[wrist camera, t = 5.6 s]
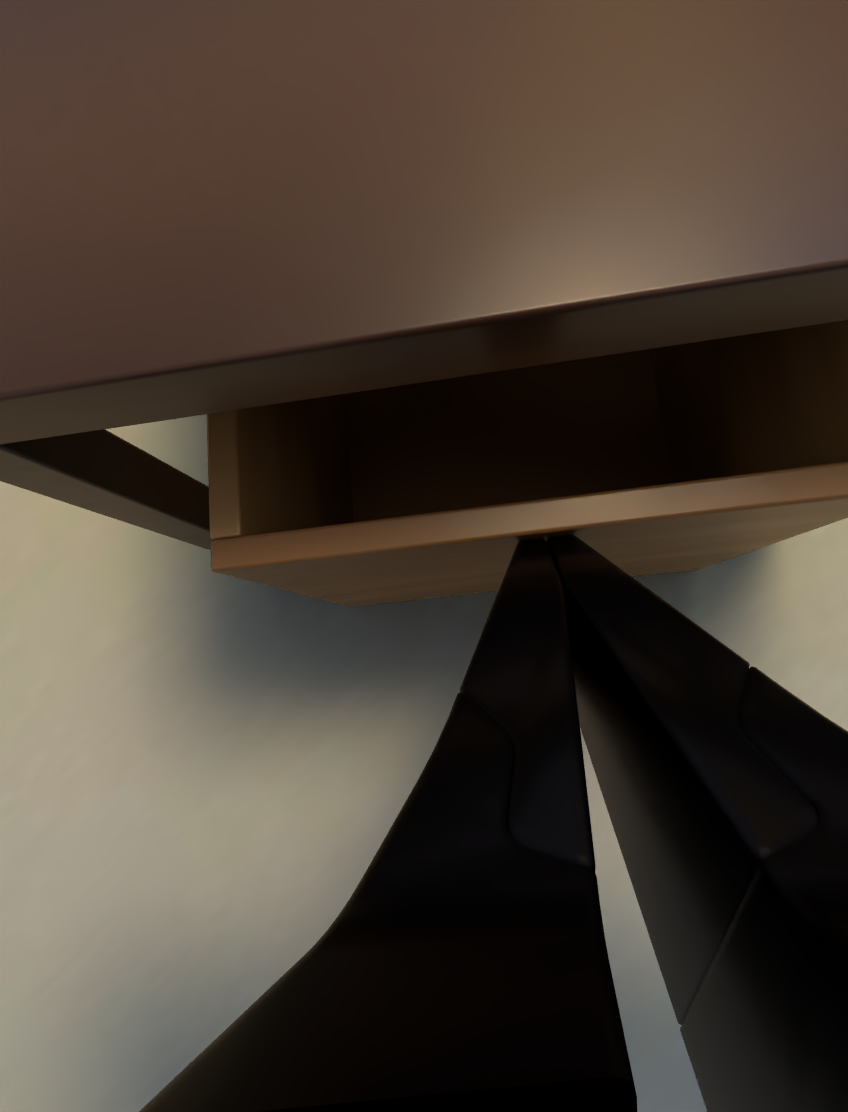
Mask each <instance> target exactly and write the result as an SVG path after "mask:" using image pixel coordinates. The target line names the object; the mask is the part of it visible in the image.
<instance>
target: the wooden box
mask: <svg viewBox="0 0 848 1112" xmlns="http://www.w3.org/2000/svg"><path fill="white" fill-rule="evenodd" d="M207 441H208V477H209V513H210V537H211V539H213V541H211V568H212V571H214V572H217V573H221V574H225V575H229V576H233V577H236V578H240V579H244V580H248V581H252V582H256V583H260V584H264V585H268V586H272V587H276V588H279V589H283V590H287V591H291V592H295V593H299V594H303V595H307V596H311V597H315V598H318V599H322V600H326V601H330V602H334V603H338V604H342V605H346V606H350V607H351V606H360V605H369V604H379V603H388V602H397V601H407V600H416V599H425V598H435V597H444V596H453V595H463V594H472V593H481V592H491V591H499V588H500V586H501V583H502V581H503V578H504V576H505V573H506V571H507V568H508V566H509V563H510V560H511V558H512V555H513V553H514V550H515V548H516V545H517V543H518V542H519V541H521V540H530V539H538V538H543V539H545V540H546V541H547V539H548V538H550V537H556V536H564V535H575V536H577V537H578V538H579V539H581V540H582V541H584V542H585V543H586V544H588V545H589V546H590V547H592V548H593V549H594V550H596V551H597V552H599V553H600V554H601V555H603V556H604V557H605V558H607V559H608V560H609V561H611V562H612V563H613V564H615V565H616V566H618V567H619V568H620V569H622V570H623V571H624V572H626V573H627V574H628V575H630V576H640V575H650V574H659V573H668V572H678V571H687V570H696V569H701V568H704V567H707V566H710V565H712V564H715V563H718V562H721V561H724V560H727V559H730V558H733V557H736V556H738V555H741V554H744V553H747V552H750V551H753V550H756V549H759V548H761V547H764V546H767V545H770V544H773V543H776V542H779V541H782V540H784V539H787V538H790V537H793V536H796V535H799V534H802V533H805V532H808V531H810V530H813V529H816V528H819V527H822V526H825V525H828V524H831V523H833V522H836V521H839V520H842V519H845V518H848V320H844V321H837V322H831V323H824V324H817V325H810V326H803V327H797V328H790V329H783V330H776V331H769V332H763V333H756V334H749V335H742V336H735V337H729V338H722V339H715V340H708V341H701V342H694V343H688V344H681V345H674V346H667V347H660V348H654V349H647V350H640V351H633V352H626V353H620V354H613V355H606V356H599V357H592V358H586V359H579V360H572V361H565V362H558V363H551V364H545V365H538V366H531V367H524V368H517V369H511V370H504V371H497V372H490V373H483V374H477V375H470V376H463V377H456V378H449V379H443V380H436V381H429V382H422V383H415V384H409V385H402V386H395V387H388V388H381V389H374V390H368V391H361V392H354V393H347V394H340V395H334V396H327V397H320V398H313V399H306V400H300V401H293V402H286V403H279V404H272V405H266V406H259V407H252V408H245V409H238V410H232V411H225V412H218V413H211V414H207Z"/></svg>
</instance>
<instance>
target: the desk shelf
mask: <svg viewBox="0 0 848 1112" xmlns="http://www.w3.org/2000/svg"><path fill="white" fill-rule="evenodd" d="M844 320H848V0H0V481H2V482H5V483H8V484H11V485H14V486H17V487H20V488H23V489H27V490H30V491H33V492H36V493H39V494H42V495H45V496H48V497H51V498H54V499H57V500H60V501H63V502H66V503H69V504H72V505H75V506H78V507H81V508H84V509H87V510H90V511H93V512H96V513H99V514H102V515H105V516H108V517H111V518H114V519H118V520H121V521H124V522H127V523H130V524H133V525H136V526H139V527H142V528H145V529H148V530H151V531H154V532H157V533H160V534H163V535H166V536H169V537H172V538H175V539H178V540H181V541H184V542H187V543H190V544H193V545H196V546H199V547H202V548H205V549H209V550H211V541H213V539H211V537H210V513H209V487H208V486H206V485H204V484H203V483H201V482H199V481H197V480H195V479H194V478H192V477H190V476H188V475H186V474H185V473H183V472H181V471H179V470H177V469H176V468H174V467H172V466H170V465H168V464H167V463H165V462H163V461H161V460H159V459H157V458H156V457H154V456H152V455H150V454H148V453H147V452H145V451H143V450H141V449H139V448H138V447H136V446H134V445H132V444H130V443H129V442H127V441H125V440H123V439H121V438H120V437H118V436H116V435H114V434H112V433H111V432H109V431H107V430H105V429H109V428H116V427H123V426H129V425H136V424H143V423H150V422H157V421H163V420H170V419H177V418H184V417H191V416H197V415H204V414H211V413H218V412H225V411H232V410H238V409H245V408H252V407H259V406H266V405H272V404H279V403H286V402H293V401H300V400H306V399H313V398H320V397H327V396H334V395H340V394H347V393H354V392H361V391H368V390H374V389H381V388H388V387H395V386H402V385H409V384H415V383H422V382H429V381H436V380H443V379H449V378H456V377H463V376H470V375H477V374H483V373H490V372H497V371H504V370H511V369H517V368H524V367H531V366H538V365H545V364H551V363H558V362H565V361H572V360H579V359H586V358H592V357H599V356H606V355H613V354H620V353H626V352H633V351H640V350H647V349H654V348H660V347H667V346H674V345H681V344H688V343H694V342H701V341H708V340H715V339H722V338H729V337H735V336H742V335H749V334H756V333H763V332H769V331H776V330H783V329H790V328H797V327H803V326H810V325H817V324H824V323H831V322H837V321H844Z"/></svg>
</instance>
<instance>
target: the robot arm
mask: <svg viewBox="0 0 848 1112" xmlns="http://www.w3.org/2000/svg"><path fill="white" fill-rule="evenodd" d="M580 728H581V731H582V734H583V737H584V740H585V743H586V746H587V749H588V752H589V755H590V758H591V761H592V764H593V767H594V770H595V773H596V776H597V779H598V782H599V785H600V788H601V791H602V794H603V797H604V800H605V804H606V807H607V810H608V813H609V816H610V819H611V822H612V825H613V828H614V831H615V834H616V837H617V840H618V843H619V846H620V849H621V852H622V855H623V858H624V861H625V864H626V867H627V870H628V873H629V876H630V879H631V882H632V885H633V888H634V891H635V894H636V897H637V900H638V903H639V906H640V909H641V912H642V915H643V918H644V921H645V924H646V927H647V930H648V933H649V936H650V939H651V942H652V945H653V949H654V952H655V955H656V958H657V961H658V964H659V967H660V970H661V973H662V976H663V979H664V982H665V985H666V988H667V991H668V994H669V997H670V1000H671V1003H672V1006H673V1009H674V1012H675V1015H676V1018H677V1021H678V1023H679V1024H680V1025H681V1028H680V1031H681V1034H682V1037H683V1040H684V1043H685V1046H686V1049H687V1052H688V1055H689V1058H690V1061H691V1064H692V1067H693V1070H694V1073H695V1076H696V1079H697V1082H698V1085H699V1088H700V1091H701V1094H702V1097H703V1100H704V1103H705V1106H706V1109H707V1112H848V731H846V730H845V729H843V728H842V727H840V726H839V725H837V724H835V723H834V722H832V721H831V720H829V719H828V718H826V717H825V716H823V715H822V714H820V713H819V712H817V711H816V710H815V709H813V708H812V707H810V706H809V705H807V704H806V703H805V702H803V701H802V700H800V699H799V698H797V697H796V696H794V695H793V694H792V693H790V692H789V691H787V690H786V689H784V688H783V687H782V686H780V685H779V684H777V683H776V682H775V681H773V680H772V679H771V678H769V677H768V676H767V675H765V674H764V673H762V672H761V671H760V670H758V669H757V668H756V667H750V668H749V663H748V662H747V661H746V660H744V659H743V658H742V657H740V656H739V655H738V654H736V653H735V652H733V651H732V650H731V649H729V648H728V647H727V646H725V645H724V644H723V643H721V642H720V641H718V640H717V639H716V638H714V637H713V636H712V635H710V634H709V633H708V632H706V631H705V630H703V629H702V628H701V627H699V626H698V625H697V624H695V623H694V622H693V621H691V620H690V619H688V618H687V617H686V616H684V615H683V614H682V613H680V612H679V611H678V610H676V609H675V608H673V607H672V606H671V605H669V604H668V603H667V602H665V601H664V600H663V599H661V598H660V597H658V596H657V595H656V594H654V593H653V592H652V591H650V590H649V589H648V588H646V587H645V586H643V585H642V584H641V583H639V582H638V581H637V580H635V579H634V578H633V577H631V576H630V575H628V574H627V573H626V572H624V571H623V570H622V569H620V568H619V567H618V566H616V565H615V564H613V563H612V562H611V561H609V560H608V559H607V558H605V557H604V556H603V555H601V554H600V553H599V552H597V551H596V550H594V549H593V548H592V547H590V546H589V545H588V544H586V543H585V542H584V541H582V540H581V539H579V538H578V537H577V536H575V535H564V536H556V537H550V538H548V539H547V541H546V540H545V539H543V538H538V539H530V540H521V541H519V542H518V543H517V545H516V548H515V550H514V553H513V555H512V558H511V560H510V563H509V566H508V568H507V571H506V573H505V576H504V578H503V581H502V583H501V586H500V588H499V591H498V593H497V596H496V599H495V601H494V604H493V606H492V609H491V611H490V614H489V616H488V619H487V621H486V624H485V627H484V629H483V632H482V634H481V637H480V639H479V642H478V644H477V647H476V649H475V652H474V654H473V657H472V660H471V662H470V665H469V667H468V670H467V672H466V675H465V677H464V680H463V682H462V685H461V687H460V693H458V694H457V697H456V699H455V702H454V704H453V707H452V710H451V712H450V715H449V717H448V719H447V721H446V724H445V726H444V728H443V731H442V733H441V735H440V737H439V740H438V742H437V744H436V746H435V749H434V750H433V752H432V754H431V756H430V758H429V760H428V762H427V764H426V766H425V768H424V769H423V771H422V773H421V775H420V777H419V779H418V781H417V783H416V785H415V786H414V788H413V790H412V792H411V793H410V795H409V797H408V799H407V800H406V802H405V804H404V806H403V807H402V809H401V811H400V813H399V814H398V816H397V818H396V820H395V821H394V823H393V825H392V827H391V828H390V830H389V832H388V834H387V835H386V837H385V839H384V841H383V842H382V844H381V846H380V848H379V849H378V851H377V853H376V855H375V856H374V858H373V860H372V862H371V863H370V865H369V867H368V869H367V870H366V872H365V874H364V876H363V877H362V879H361V881H360V883H359V884H358V886H357V888H356V889H355V891H354V893H353V894H352V896H351V898H350V899H349V901H348V902H347V904H346V905H345V907H344V908H343V910H342V911H341V913H340V914H339V915H338V917H337V918H336V920H335V921H334V922H333V923H332V925H331V926H330V927H329V929H328V930H327V931H326V932H325V934H324V935H323V936H322V937H321V938H320V939H319V940H318V942H317V943H316V944H315V945H314V946H313V947H312V948H311V949H310V950H309V951H308V952H307V953H306V954H305V955H304V956H303V957H302V958H301V959H300V960H299V961H298V962H297V963H296V964H295V965H294V966H292V967H291V968H290V969H289V970H288V971H287V972H286V973H285V974H284V975H283V976H282V977H281V978H280V979H279V980H278V981H277V982H276V983H275V984H273V985H272V986H271V987H270V988H269V989H268V990H267V991H266V992H265V993H264V994H263V995H262V996H261V997H260V998H259V999H258V1000H257V1001H255V1002H254V1003H253V1004H252V1005H251V1006H250V1007H249V1008H248V1009H247V1010H246V1011H245V1012H244V1013H243V1014H242V1015H241V1016H240V1017H239V1018H238V1019H236V1020H235V1021H234V1022H233V1023H232V1024H231V1025H230V1026H229V1027H228V1028H227V1029H226V1030H225V1031H224V1032H223V1033H222V1034H221V1035H220V1036H219V1037H217V1038H216V1039H215V1040H214V1041H213V1042H212V1043H211V1044H210V1045H209V1046H208V1047H207V1048H206V1049H205V1050H204V1051H203V1052H202V1053H201V1054H200V1055H198V1056H197V1057H196V1058H195V1059H194V1060H193V1061H192V1062H191V1063H190V1064H189V1065H188V1066H187V1067H186V1068H185V1069H184V1070H183V1071H182V1072H180V1073H179V1074H178V1075H177V1076H176V1077H175V1078H174V1079H173V1080H172V1081H171V1082H170V1083H169V1084H168V1085H167V1086H166V1087H165V1088H164V1089H163V1090H161V1091H160V1092H159V1093H158V1094H157V1095H156V1096H155V1097H154V1098H153V1099H152V1100H151V1101H150V1102H149V1103H148V1104H147V1105H146V1106H145V1107H144V1108H142V1109H141V1110H140V1111H139V1112H637V1096H636V1091H635V1086H634V1081H633V1076H632V1071H631V1066H630V1062H629V1057H628V1052H627V1047H626V1042H625V1037H624V1032H623V1027H622V1022H621V1017H620V1013H619V1008H618V1003H617V998H616V993H615V988H614V983H613V978H612V973H611V968H610V964H609V959H608V953H607V948H606V942H605V936H604V929H603V923H602V916H601V909H600V901H599V894H598V885H597V877H596V874H595V858H594V849H593V840H592V832H591V823H590V814H589V805H588V796H587V787H586V778H585V769H584V760H583V751H582V742H581V733H580Z"/></svg>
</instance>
